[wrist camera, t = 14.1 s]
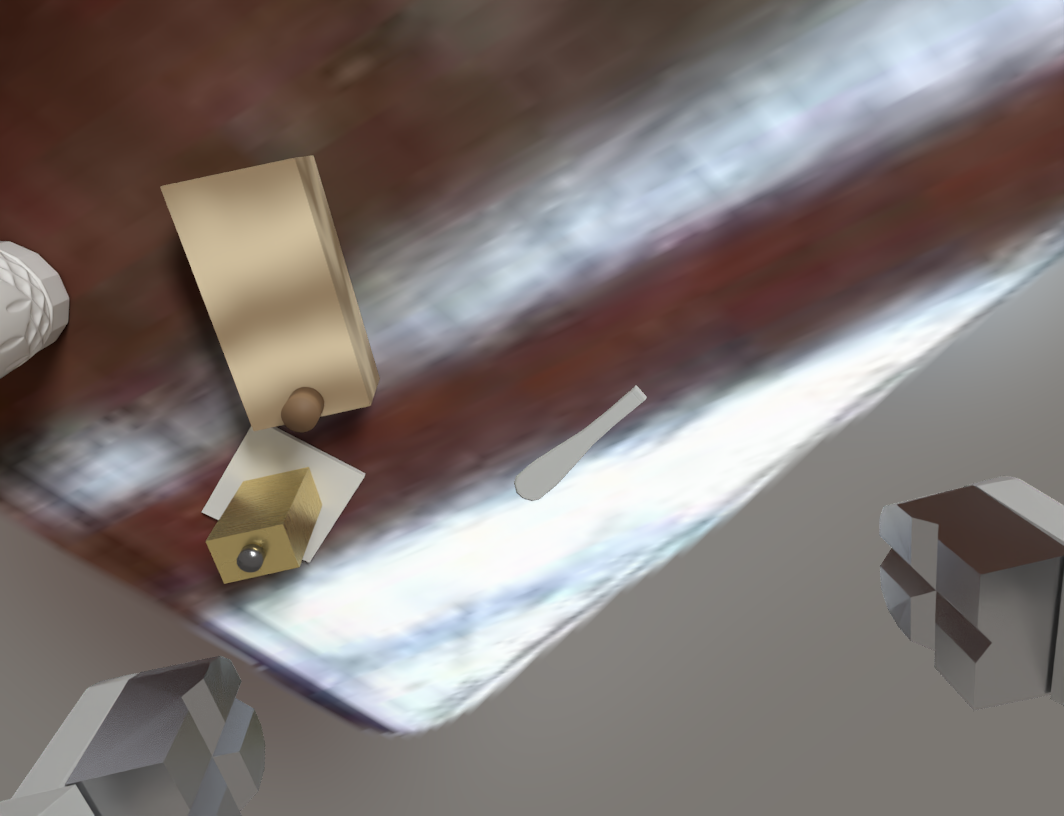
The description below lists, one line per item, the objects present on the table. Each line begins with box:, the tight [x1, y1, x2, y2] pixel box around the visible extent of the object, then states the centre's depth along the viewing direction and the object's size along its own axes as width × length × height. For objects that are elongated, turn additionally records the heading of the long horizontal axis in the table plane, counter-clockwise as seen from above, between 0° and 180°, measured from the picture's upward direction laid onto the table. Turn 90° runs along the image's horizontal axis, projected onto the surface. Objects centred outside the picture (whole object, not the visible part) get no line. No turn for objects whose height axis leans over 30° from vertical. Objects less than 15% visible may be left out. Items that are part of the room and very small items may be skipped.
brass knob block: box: [206, 467, 322, 584], centre depth 44 cm, size 3×4×8 cm, turn 101°
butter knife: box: [514, 386, 647, 500], centre depth 48 cm, size 1×24×3 cm
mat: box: [202, 426, 365, 562], centre depth 48 cm, size 8×8×1 cm
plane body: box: [160, 156, 380, 432], centre depth 40 cm, size 14×7×7 cm, turn 11°
